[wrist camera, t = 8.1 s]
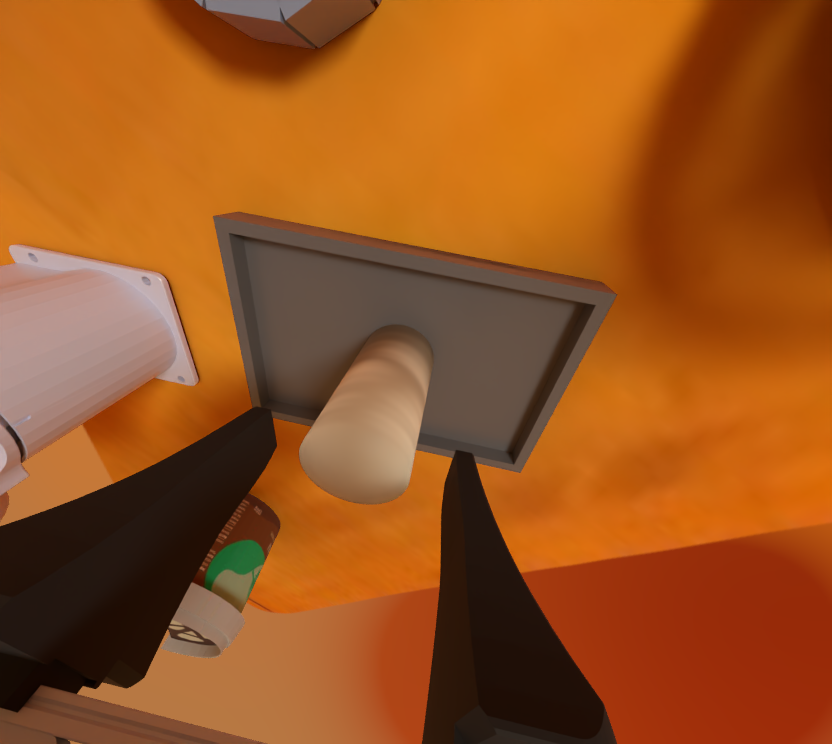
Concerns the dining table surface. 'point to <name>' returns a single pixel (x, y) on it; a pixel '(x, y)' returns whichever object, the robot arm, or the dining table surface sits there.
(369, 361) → the dowel pin
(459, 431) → the tray
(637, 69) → the dining table surface
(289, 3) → the grey round dish
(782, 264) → the dining table surface
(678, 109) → the dining table surface
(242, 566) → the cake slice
